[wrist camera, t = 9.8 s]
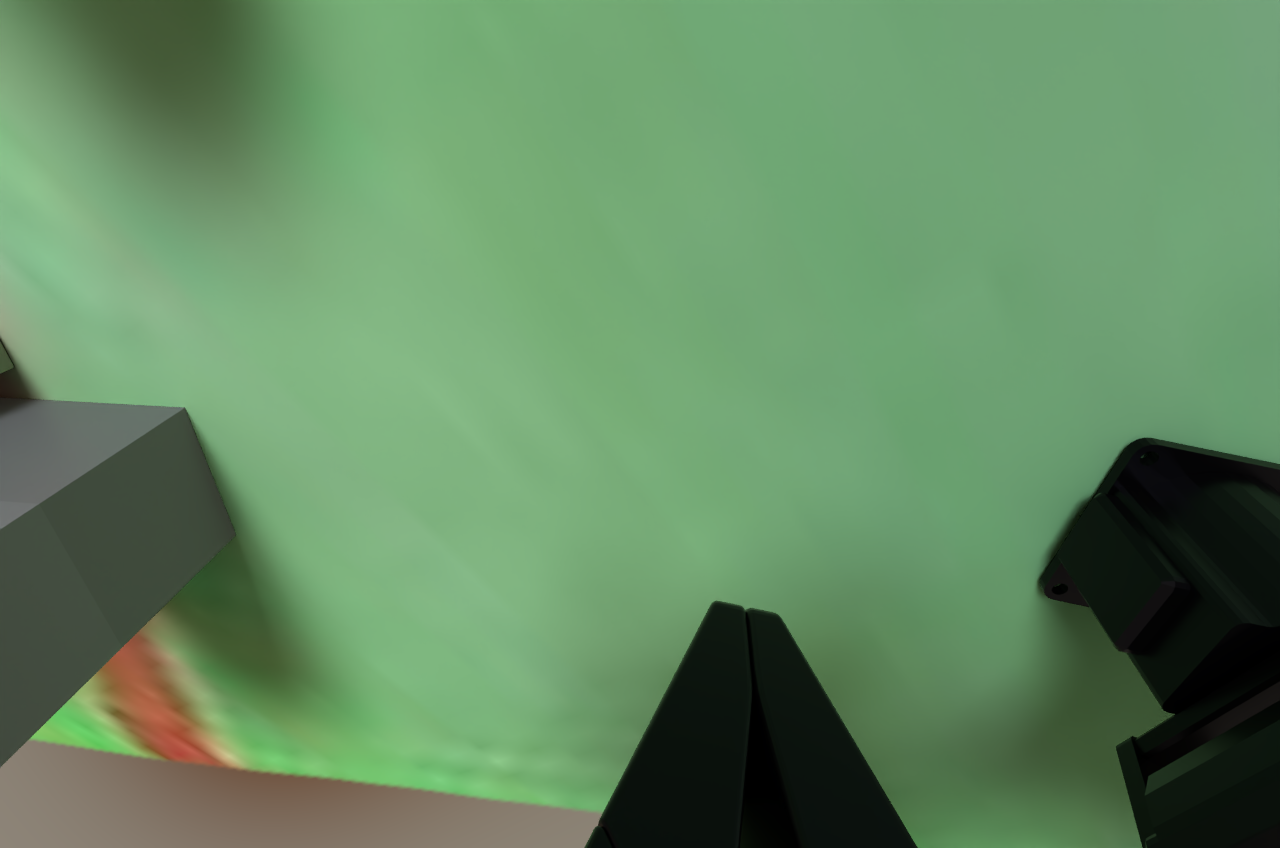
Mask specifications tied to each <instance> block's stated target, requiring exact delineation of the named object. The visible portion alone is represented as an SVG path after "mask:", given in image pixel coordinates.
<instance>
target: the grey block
mask: <svg viewBox="0 0 1280 848" xmlns="http://www.w3.org/2000/svg"><path fill="white" fill-rule="evenodd" d="M235 536H236V533H235V531H234V528H233V526H232V523H231V521H230V518H229V516H228V513H227V511H226V508H225V506H224V503H223V501H222V498H221V496H220V493H219V491H218V488H217V486H216V484H215V481H214V479H213V476H212V474H211V471H210V469H209V466H208V464H207V461H206V459H205V456H204V454H203V451H202V449H201V446H200V444H199V441H198V439H197V437H196V434H195V432H194V429H193V427H192V424H191V422H190V419H189V417H188V414H187V412H186V409H185V408H182V407H164V406H145V405H127V404H109V403H91V402H72V401H54V400H36V399H18V398H0V767H1V766H2V765H3V764H4V763H5V762H6V761H7V760H8V759H9V758H10V757H11V756H12V755H13V754H14V753H15V752H16V751H17V750H18V749H19V748H20V747H21V746H22V745H23V744H25V742H26V741H28V740H29V739H30V738H31V737H32V736H33V735H34V734H35V733H36V732H37V731H38V730H39V729H40V728H41V727H42V726H43V725H44V724H45V723H46V722H47V721H48V720H49V719H50V718H51V717H52V716H53V715H54V714H55V713H56V712H57V711H58V710H59V709H60V708H61V707H62V706H63V705H64V704H65V703H66V702H67V701H68V700H69V699H70V698H71V697H72V696H73V695H74V694H75V693H76V692H77V691H78V690H79V689H80V688H81V687H82V686H83V685H84V684H85V683H86V682H88V681H89V680H90V679H91V678H92V677H93V676H94V675H95V674H96V673H97V672H98V671H99V670H100V669H101V668H102V667H103V666H104V665H105V664H106V663H107V662H108V661H109V660H110V659H111V658H112V657H113V656H114V655H115V654H116V653H117V652H118V651H119V650H120V649H121V648H122V647H123V646H124V645H125V644H126V643H127V642H128V641H129V640H130V639H131V638H132V637H133V636H134V635H135V634H136V633H137V632H138V631H139V630H140V629H141V628H142V627H143V626H144V625H145V624H146V623H147V622H148V621H149V620H150V619H151V618H153V617H154V616H155V615H156V614H157V613H158V612H159V611H160V610H161V609H162V608H163V607H164V606H165V605H166V604H167V603H168V602H169V601H170V600H171V599H172V598H173V597H174V596H175V595H176V594H177V593H178V592H179V591H180V590H181V589H182V588H183V587H184V586H185V585H186V584H187V583H188V582H189V581H190V580H191V579H192V578H193V577H194V576H195V575H196V574H197V573H198V572H199V571H200V570H201V569H202V568H203V567H204V566H205V565H206V564H207V563H208V562H209V561H210V560H211V559H212V558H213V557H214V556H215V555H216V554H218V553H219V552H220V551H221V550H222V549H223V548H224V547H225V546H226V545H227V544H228V543H229V542H230V541H231V540H232V539H233V538H234V537H235Z"/></svg>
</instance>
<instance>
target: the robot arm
mask: <svg viewBox="0 0 1280 848" xmlns="http://www.w3.org/2000/svg"><path fill="white" fill-rule="evenodd" d="M1147 452H1151V453H1150V454H1149V455H1148V456H1147V457H1145V458H1141V456H1142V455H1143V454H1144V453H1147ZM1039 583H1040V587H1041V588H1042V590H1043V592H1044V594H1045V595H1046V596H1047V597H1048V598H1050V599H1053V600H1058V601H1063V602H1067V603H1072V604H1077V605H1082V606H1086V607H1090V609H1091V610H1092V612H1093V613H1094V615H1095V616H1096V618H1097V620H1098V621H1099V623H1100V624H1101V626H1102V628H1103V629H1104V631H1105V632H1106V634H1107V635H1108V637H1109V639H1110V640H1111V642H1112V643H1113V645H1114V646H1115V648H1116V649H1117V650H1118V651H1121V652H1125V653H1127V655H1128V656H1129V658H1130V659H1131V661H1132V662H1133V664H1134V665H1135V667H1136V668H1137V670H1138V672H1139V673H1140V675H1141V676H1142V678H1143V679H1144V681H1145V682H1146V684H1147V686H1148V687H1149V689H1150V690H1151V692H1152V693H1153V695H1154V696H1155V698H1156V699H1157V701H1158V703H1159V704H1160V706H1161V707H1162V709H1163V710H1164V711H1166V712H1168V713H1173V714H1175V715H1173V716H1172V717H1170V718H1168V719H1167V720H1165V721H1164V722H1162V723H1160V724H1159V725H1157V726H1156V727H1154V728H1152V729H1151V730H1149V731H1147V732H1146V733H1144V734H1143V735H1141V736H1139V737H1138V738H1136V737H1134V736H1132V737H1130V738H1129V739H1127V740H1125V741H1124V742H1122V743H1121V744H1119V745H1117V746H1116V750H1117V753H1118V757H1119V761H1120V765H1121V768H1122V772H1123V776H1124V780H1125V783H1126V787H1127V791H1128V795H1129V798H1130V802H1131V806H1132V810H1133V813H1134V817H1135V821H1136V825H1137V828H1138V832H1139V836H1140V840H1141V843H1142V847H1143V848H1280V464H1276V463H1271V462H1267V461H1262V460H1257V459H1252V458H1247V457H1242V456H1237V455H1232V454H1227V453H1222V452H1218V451H1213V450H1208V449H1203V448H1198V447H1193V446H1188V445H1183V444H1178V443H1173V442H1169V441H1164V440H1159V439H1154V438H1141V439H1138V440H1136V441H1134V442H1132V443H1130V445H1129V446H1128V447H1127V448H1126V449H1125V451H1124V452H1123V454H1122V455H1121V457H1120V458H1119V460H1118V461H1117V463H1116V464H1115V466H1114V467H1113V469H1112V470H1111V472H1110V473H1109V475H1108V476H1107V478H1106V480H1105V481H1104V483H1103V484H1102V486H1101V487H1100V489H1099V490H1098V492H1097V493H1096V495H1095V496H1094V498H1093V499H1092V500H1091V502H1090V503H1089V505H1088V506H1087V508H1086V509H1085V511H1084V512H1083V514H1082V515H1081V517H1080V518H1079V520H1078V521H1077V523H1076V524H1075V526H1074V528H1073V529H1072V531H1071V532H1070V534H1069V535H1068V537H1067V538H1066V540H1065V541H1064V543H1063V544H1062V546H1061V547H1060V549H1059V550H1058V552H1057V554H1056V556H1055V557H1054V559H1053V560H1052V562H1051V563H1050V565H1049V567H1048V568H1047V570H1046V571H1045V573H1044V574H1043V576H1042V577H1041V579H1040V582H1039ZM1057 584H1060V585H1058V586H1055V585H1057ZM585 848H917V846H916V844H915V843H914V841H913V839H912V838H911V836H910V834H909V833H908V831H907V829H906V828H905V826H904V824H903V822H902V821H901V819H900V817H899V816H898V814H897V812H896V811H895V809H894V807H893V806H892V804H891V802H890V800H889V799H888V797H887V795H886V794H885V792H884V790H883V789H882V787H881V785H880V784H879V782H878V780H877V779H876V777H875V775H874V773H873V772H872V770H871V768H870V767H869V765H868V763H867V762H866V760H865V758H864V757H863V755H862V753H861V752H860V750H859V748H858V746H857V745H856V743H855V741H854V740H853V738H852V736H851V735H850V733H849V731H848V730H847V728H846V726H845V725H844V723H843V721H842V719H841V718H840V716H839V714H838V713H837V711H836V709H835V708H834V706H833V704H832V703H831V701H830V699H829V698H828V696H827V694H826V692H825V691H824V689H823V687H822V686H821V684H820V682H819V681H818V679H817V677H816V676H815V674H814V672H813V671H812V669H811V667H810V665H809V664H808V662H807V660H806V659H805V657H804V655H803V654H802V652H801V650H800V649H799V647H798V645H797V643H796V642H795V640H794V638H793V637H792V635H791V633H790V632H789V630H788V628H787V627H786V625H785V623H784V622H783V620H782V618H781V617H780V616H779V615H778V614H776V613H773V612H768V611H764V610H759V609H754V608H749V609H746V610H744V608H743V607H742V606H740V605H735V604H730V603H726V602H721V601H714V602H713V603H712V604H711V605H710V607H709V609H708V611H707V613H706V615H705V617H704V619H703V621H702V623H701V625H700V627H699V628H698V630H697V632H696V634H695V636H694V638H693V640H692V642H691V644H690V646H689V648H688V650H687V652H686V654H685V655H684V657H683V659H682V661H681V663H680V665H679V667H678V669H677V671H676V673H675V675H674V677H673V679H672V681H671V683H670V684H669V686H668V688H667V690H666V692H665V694H664V696H663V698H662V700H661V702H660V704H659V706H658V708H657V710H656V711H655V713H654V715H653V717H652V719H651V721H650V723H649V725H648V727H647V729H646V731H645V733H644V735H643V737H642V739H641V740H640V742H639V744H638V746H637V748H636V750H635V752H634V754H633V756H632V758H631V760H630V762H629V764H628V766H627V767H626V769H625V771H624V773H623V775H622V777H621V779H620V781H619V783H618V785H617V787H616V789H615V791H614V793H613V795H612V796H611V798H610V800H609V802H608V804H607V806H606V808H605V810H604V812H603V814H602V816H601V818H600V820H599V824H598V826H597V827H595V829H594V830H593V832H592V834H591V836H590V838H589V840H588V842H587V844H586V846H585Z"/></svg>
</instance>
